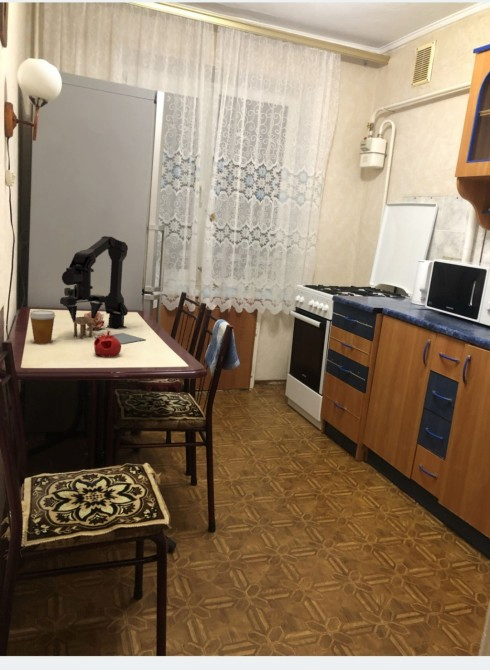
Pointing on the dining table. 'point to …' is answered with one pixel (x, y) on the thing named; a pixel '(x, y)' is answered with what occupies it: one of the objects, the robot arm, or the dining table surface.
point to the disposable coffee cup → (42, 325)
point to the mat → (126, 338)
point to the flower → (96, 320)
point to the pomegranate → (107, 345)
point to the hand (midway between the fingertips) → (83, 320)
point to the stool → (83, 326)
